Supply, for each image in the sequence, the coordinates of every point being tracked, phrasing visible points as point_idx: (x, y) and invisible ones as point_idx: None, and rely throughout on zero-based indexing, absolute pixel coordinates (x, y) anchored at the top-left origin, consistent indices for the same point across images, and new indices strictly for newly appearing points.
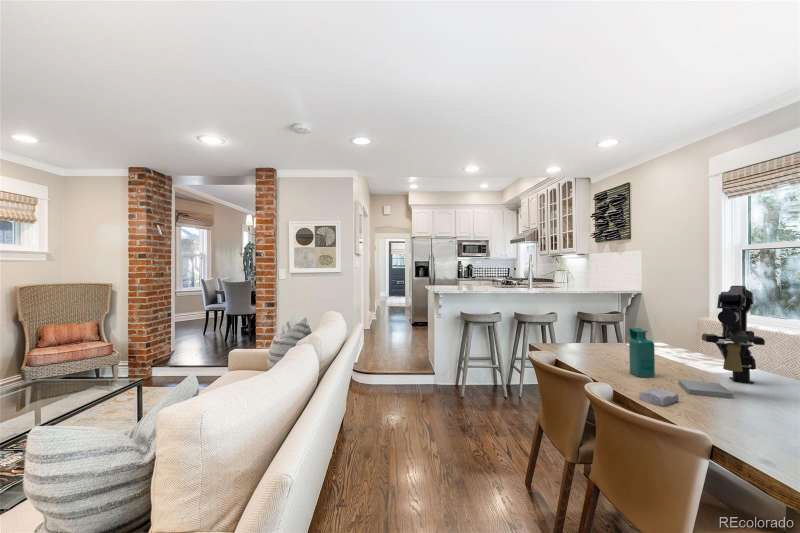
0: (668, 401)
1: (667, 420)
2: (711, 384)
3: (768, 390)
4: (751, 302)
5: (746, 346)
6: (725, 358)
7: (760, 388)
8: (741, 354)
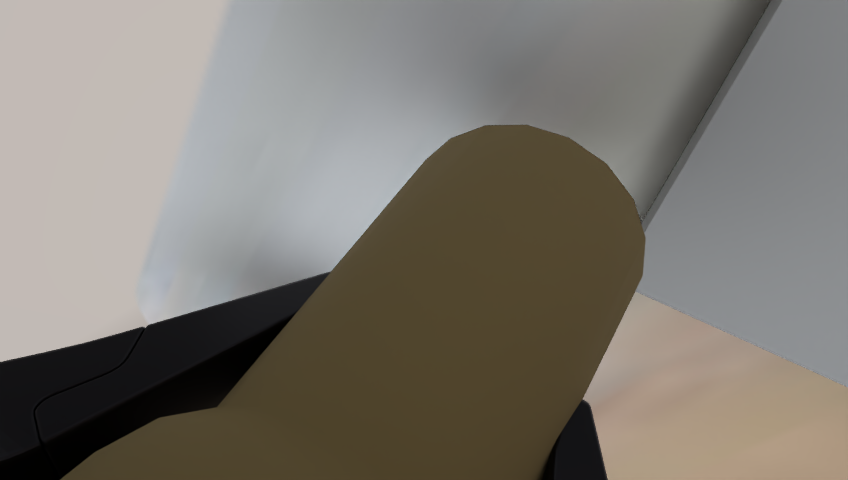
0: None
1: None
2: (759, 251)
3: (293, 166)
4: None
5: None
6: (585, 418)
7: (315, 208)
8: (228, 335)
